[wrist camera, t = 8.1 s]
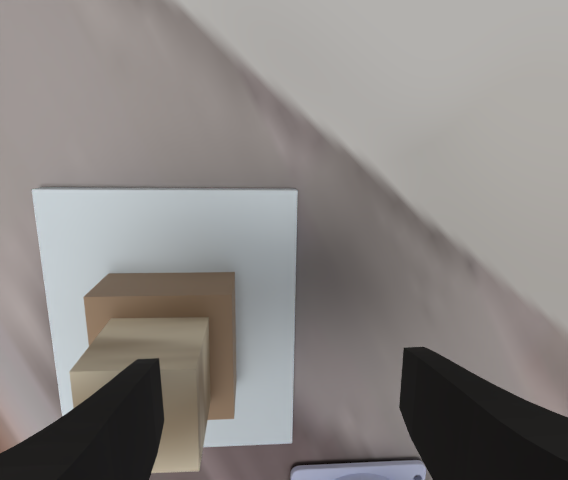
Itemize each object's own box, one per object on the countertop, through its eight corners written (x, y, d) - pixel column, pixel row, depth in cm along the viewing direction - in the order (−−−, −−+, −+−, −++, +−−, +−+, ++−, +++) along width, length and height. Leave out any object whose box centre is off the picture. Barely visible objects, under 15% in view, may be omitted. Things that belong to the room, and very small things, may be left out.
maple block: (210, 400, 18) (199, 471, 14) (118, 402, 18) (81, 475, 14) (208, 317, 17) (196, 369, 13) (111, 318, 17) (69, 371, 13)
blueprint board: (290, 433, 23) (298, 488, 20) (73, 442, 22) (38, 501, 19) (295, 188, 20) (305, 199, 16) (40, 187, 19) (-10, 198, 15)
